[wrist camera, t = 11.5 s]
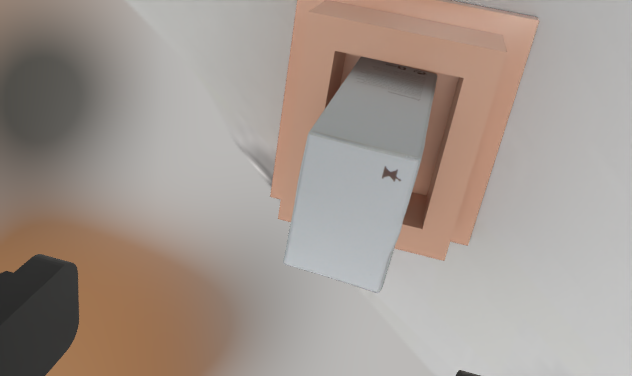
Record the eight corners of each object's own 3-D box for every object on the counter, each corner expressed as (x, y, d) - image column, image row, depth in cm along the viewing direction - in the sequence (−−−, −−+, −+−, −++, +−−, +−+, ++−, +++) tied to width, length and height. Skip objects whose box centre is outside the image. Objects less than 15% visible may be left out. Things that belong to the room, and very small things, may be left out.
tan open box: (274, 189, 37) (249, 228, 33) (305, -29, 32) (279, -18, 27) (467, 237, 36) (467, 283, 32) (537, 17, 30) (549, 36, 26)
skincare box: (359, 52, 32) (307, 126, 21) (439, 72, 31) (426, 158, 21) (335, 156, 35) (278, 267, 24) (408, 175, 34) (383, 297, 23)
